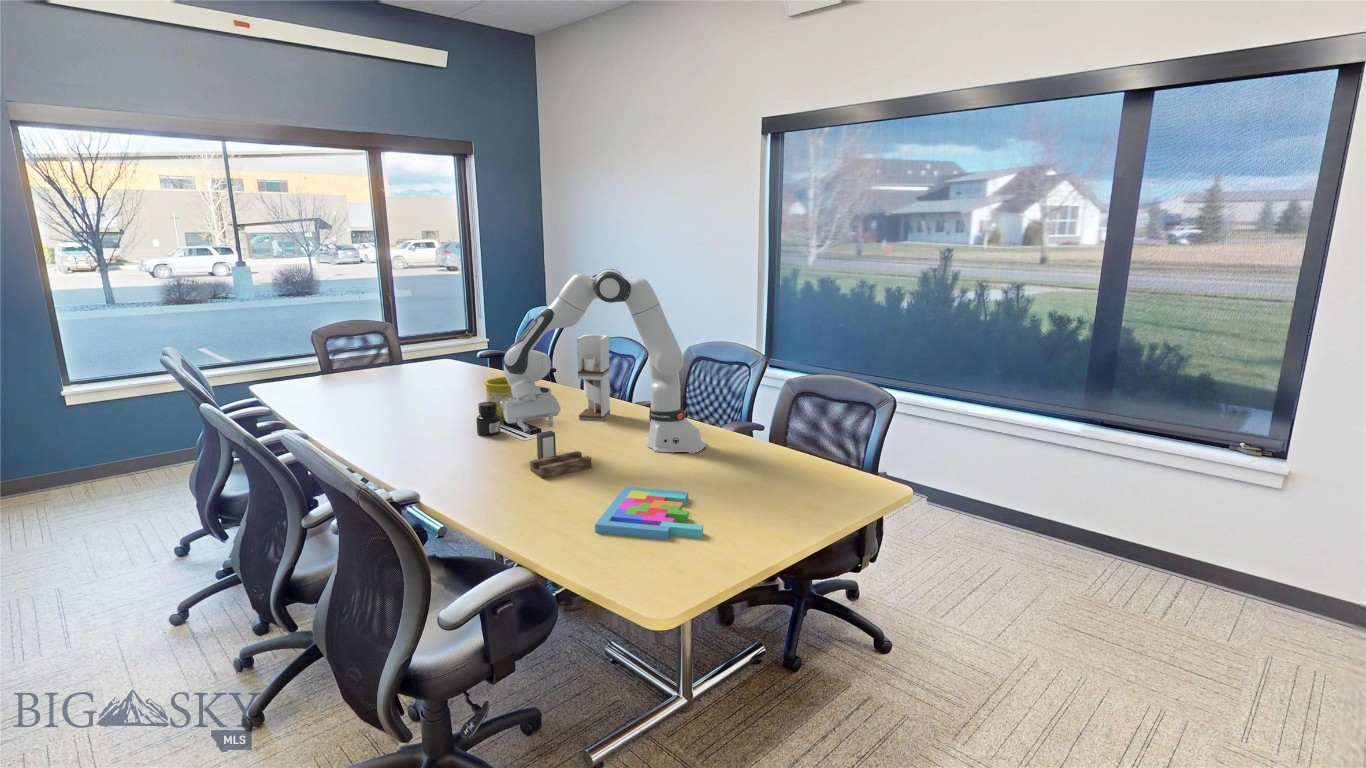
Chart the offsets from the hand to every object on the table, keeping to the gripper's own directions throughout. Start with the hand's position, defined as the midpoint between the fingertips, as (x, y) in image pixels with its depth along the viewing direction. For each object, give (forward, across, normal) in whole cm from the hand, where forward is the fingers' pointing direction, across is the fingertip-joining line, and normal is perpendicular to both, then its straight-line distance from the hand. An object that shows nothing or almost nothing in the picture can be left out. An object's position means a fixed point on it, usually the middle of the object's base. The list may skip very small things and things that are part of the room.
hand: (539, 428), depth 232 cm
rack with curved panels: (-17, +42, +32) cm, 56 cm away
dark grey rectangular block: (+11, 0, +3) cm, 12 cm away
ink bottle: (-20, -4, +34) cm, 40 cm away
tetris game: (+55, +5, -40) cm, 68 cm away
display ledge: (+19, 0, -4) cm, 19 cm away
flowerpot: (-31, +11, +46) cm, 57 cm away
